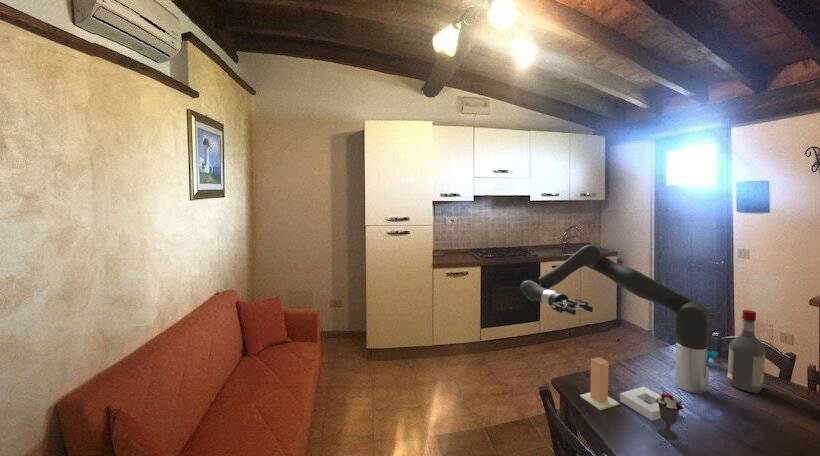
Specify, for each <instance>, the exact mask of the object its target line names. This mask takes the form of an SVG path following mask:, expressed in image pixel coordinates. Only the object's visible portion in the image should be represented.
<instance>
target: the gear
mask: <svg viewBox="0 0 820 456" xmlns="http://www.w3.org/2000/svg"><path fill="white" fill-rule="evenodd" d="M715 357H719V352H718V351H716V350H711V351H710V350H707V363H706V366H708V367H709V368H712V364H711V363H710V361H709V360H710V359H715Z"/></svg>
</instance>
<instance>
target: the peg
mask: <svg viewBox="0 0 820 456" xmlns="http://www.w3.org/2000/svg"><path fill="white" fill-rule="evenodd" d="M609 364H610V361H608V360H606V359H604V358H603V357H600V356H598V357H597V356H596V357H594V358H590V389H589V390H590V391H589V392H590V397H591V398H592V399H594V400H595V401H597V402H598V403H602V402H605V401H608V396H609V395H608V394H609Z"/></svg>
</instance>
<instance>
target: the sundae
mask: <svg viewBox="0 0 820 456" xmlns="http://www.w3.org/2000/svg"><path fill="white" fill-rule="evenodd" d="M660 389H661V390H662V393H660V397H659V398H657V399H656V402H657V403H658V404H659V410H660V417H661V418H660V419H661V420H662V421H663V422H664V423H665V427H660V428H658V429H657V432H658V433H659V434H660V435H661V436H662V437H664V438H666V439H671V440H674V439H677V438H679V437H678V434H677V433H676V432H675V431H673V430H672V429H671V425H674V424H676V423H677V420H678V417H679V416H678V415H679V412H680V411H681V410H684V407H683V405H682V401H683V400H680V401H679V402H678V401H677V399H676V398H675V397H674V396H673V395H672V394H669V393H667V391H666V390H665V389H664V387H662V386H661V387H660Z"/></svg>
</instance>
